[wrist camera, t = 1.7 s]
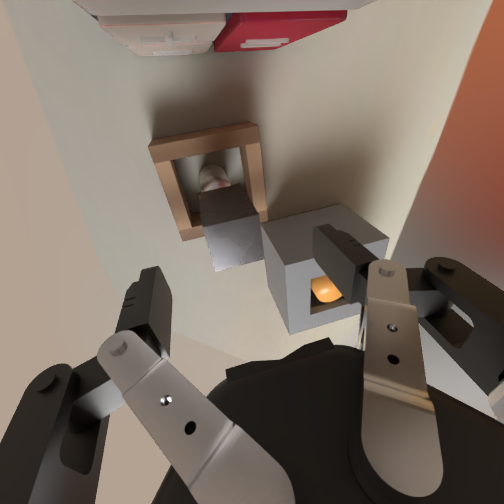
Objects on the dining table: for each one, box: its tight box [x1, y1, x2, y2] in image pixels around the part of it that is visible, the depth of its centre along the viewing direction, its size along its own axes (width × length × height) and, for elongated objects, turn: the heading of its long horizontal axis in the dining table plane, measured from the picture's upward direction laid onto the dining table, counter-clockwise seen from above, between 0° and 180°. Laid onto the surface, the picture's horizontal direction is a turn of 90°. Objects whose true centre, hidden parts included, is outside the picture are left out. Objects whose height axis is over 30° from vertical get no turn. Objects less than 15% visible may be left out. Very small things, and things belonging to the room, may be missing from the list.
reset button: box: [311, 275, 343, 302], centre depth 26 cm, size 4×4×5 cm
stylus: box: [197, 165, 265, 272], centre depth 18 cm, size 3×3×12 cm
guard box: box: [260, 204, 389, 335], centre depth 27 cm, size 10×10×8 cm
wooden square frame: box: [148, 122, 268, 241], centre depth 22 cm, size 8×8×3 cm
